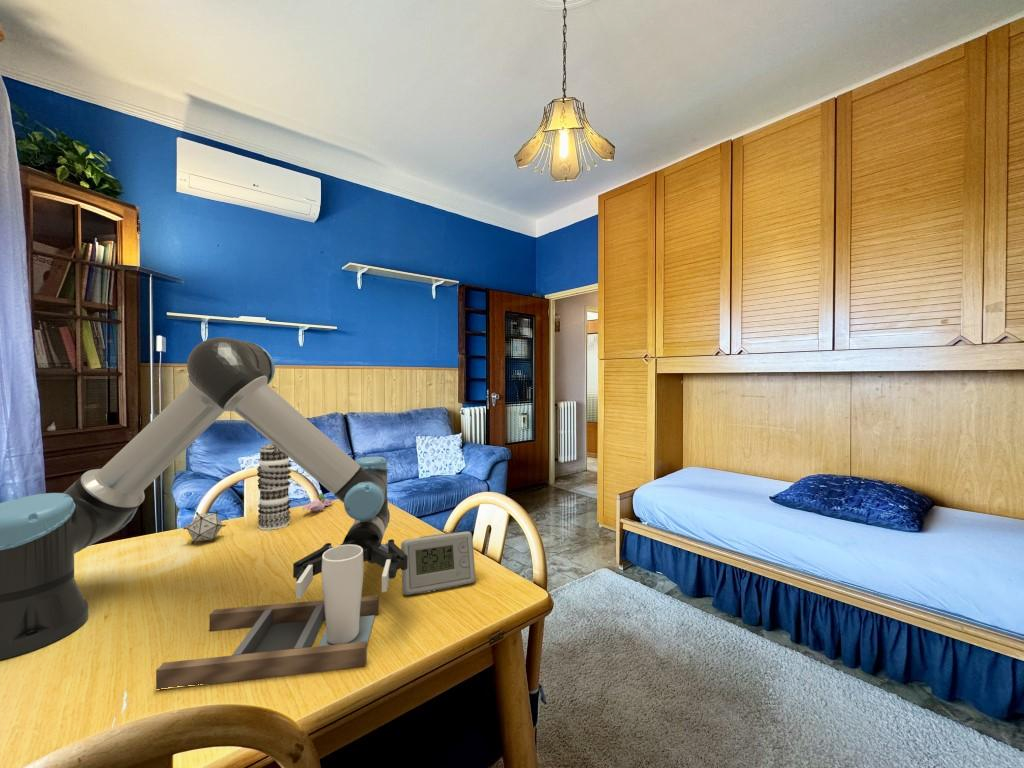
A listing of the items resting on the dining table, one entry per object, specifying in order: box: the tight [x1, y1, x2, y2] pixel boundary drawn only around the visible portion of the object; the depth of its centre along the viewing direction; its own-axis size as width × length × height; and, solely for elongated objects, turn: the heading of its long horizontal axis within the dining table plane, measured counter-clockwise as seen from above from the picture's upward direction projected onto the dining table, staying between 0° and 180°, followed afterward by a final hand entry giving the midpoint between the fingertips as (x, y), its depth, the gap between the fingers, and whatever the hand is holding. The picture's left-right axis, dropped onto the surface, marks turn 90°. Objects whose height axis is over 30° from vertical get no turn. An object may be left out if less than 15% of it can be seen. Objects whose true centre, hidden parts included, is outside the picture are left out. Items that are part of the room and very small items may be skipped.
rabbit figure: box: [302, 492, 334, 512], centre depth 138 cm, size 6×6×15 cm
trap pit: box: [231, 605, 324, 656], centre depth 69 cm, size 10×12×3 cm
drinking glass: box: [321, 544, 365, 645], centre depth 71 cm, size 7×7×15 cm
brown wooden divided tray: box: [155, 595, 380, 690], centre depth 69 cm, size 29×16×3 cm, turn 100°
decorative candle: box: [256, 442, 292, 531], centre depth 124 cm, size 9×9×25 cm
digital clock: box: [400, 530, 476, 596], centre depth 90 cm, size 16×9×11 cm, turn 100°
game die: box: [182, 510, 227, 545], centre depth 112 cm, size 9×8×10 cm
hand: (341, 587), depth 68 cm, fingers open, 13 cm apart
